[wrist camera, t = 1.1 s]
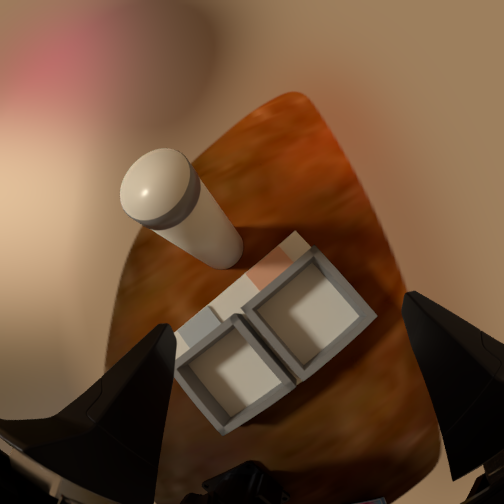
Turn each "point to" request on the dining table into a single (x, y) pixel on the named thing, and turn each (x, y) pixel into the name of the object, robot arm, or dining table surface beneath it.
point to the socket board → (267, 333)
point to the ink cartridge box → (374, 501)
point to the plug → (180, 208)
